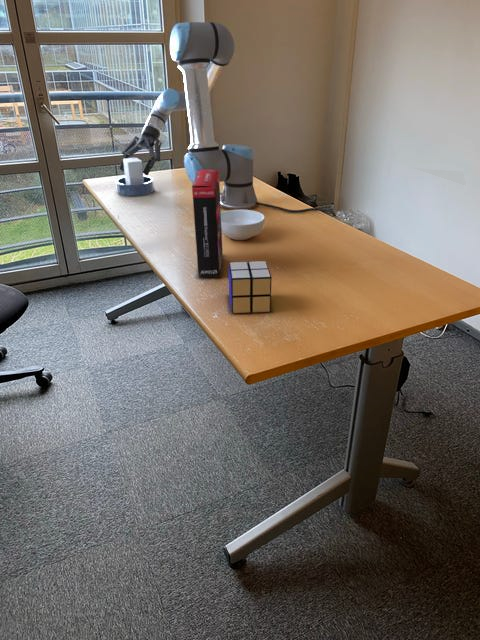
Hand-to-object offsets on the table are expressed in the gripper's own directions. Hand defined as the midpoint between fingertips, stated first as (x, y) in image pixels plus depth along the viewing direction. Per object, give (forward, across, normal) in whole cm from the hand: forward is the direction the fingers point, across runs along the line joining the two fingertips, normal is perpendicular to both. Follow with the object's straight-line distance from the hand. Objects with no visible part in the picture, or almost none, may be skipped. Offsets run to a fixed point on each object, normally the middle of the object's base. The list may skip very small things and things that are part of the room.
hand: (133, 172), depth 217 cm
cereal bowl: (+21, -68, +9) cm, 71 cm away
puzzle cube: (+50, -96, +37) cm, 114 cm away
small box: (+5, 0, -6) cm, 8 cm away
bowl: (+6, 0, -6) cm, 9 cm away
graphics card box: (+40, -73, +27) cm, 88 cm away
